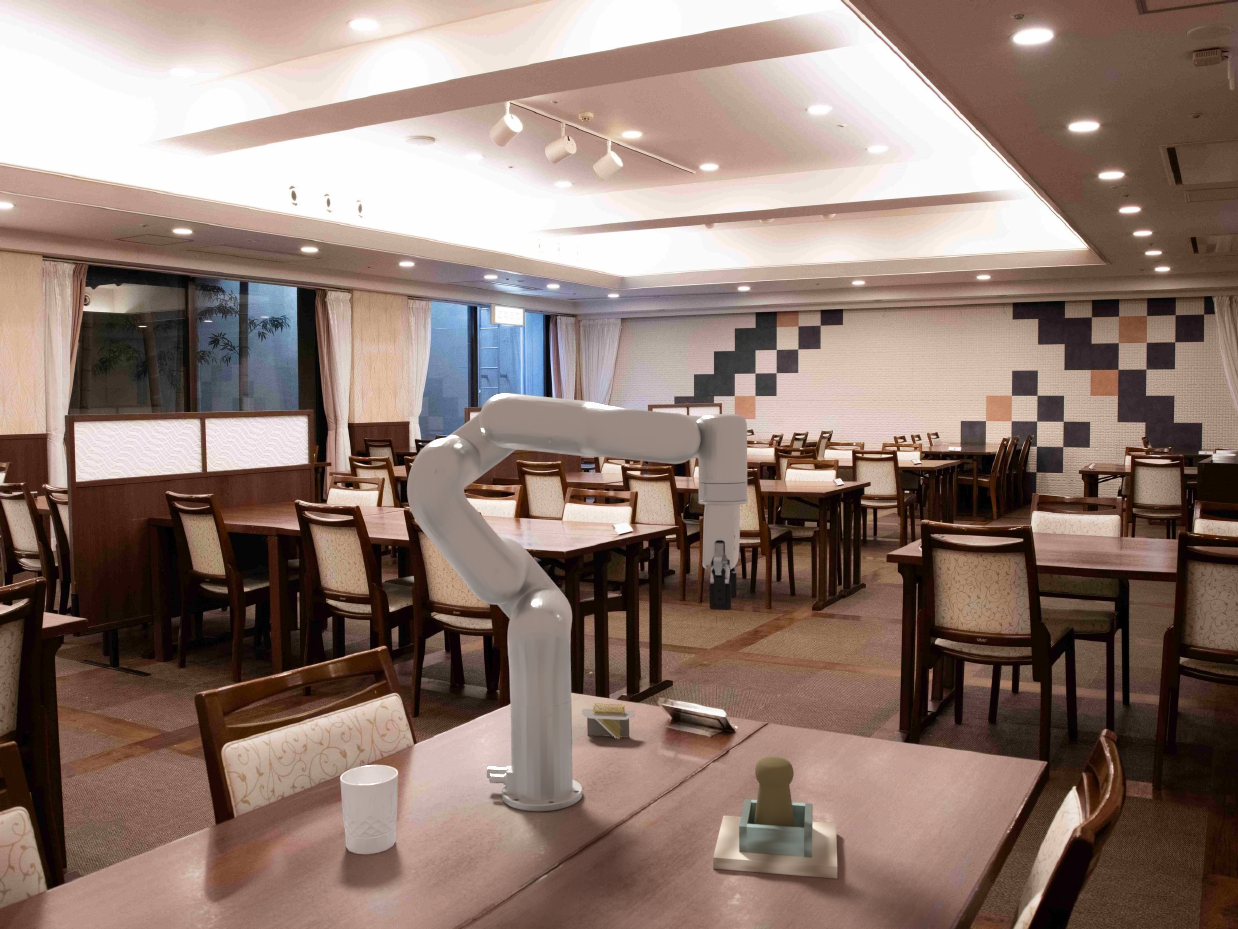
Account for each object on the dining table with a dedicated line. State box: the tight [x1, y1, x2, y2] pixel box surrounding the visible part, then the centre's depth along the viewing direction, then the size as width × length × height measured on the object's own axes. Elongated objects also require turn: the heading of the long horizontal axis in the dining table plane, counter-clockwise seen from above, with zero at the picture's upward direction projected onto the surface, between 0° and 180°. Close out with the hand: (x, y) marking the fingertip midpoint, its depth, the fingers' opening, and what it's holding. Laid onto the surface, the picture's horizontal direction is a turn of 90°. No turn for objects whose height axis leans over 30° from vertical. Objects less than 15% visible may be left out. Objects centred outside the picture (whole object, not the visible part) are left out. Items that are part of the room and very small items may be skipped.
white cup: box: [339, 764, 399, 855], centre depth 141 cm, size 8×8×10 cm
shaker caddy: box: [712, 798, 838, 879], centre depth 137 cm, size 16×14×5 cm
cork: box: [754, 756, 795, 827], centre depth 138 cm, size 6×6×11 cm
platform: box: [581, 702, 636, 740], centre depth 186 cm, size 12×18×7 cm, turn 80°
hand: (723, 603), depth 156 cm, fingers open, 9 cm apart
